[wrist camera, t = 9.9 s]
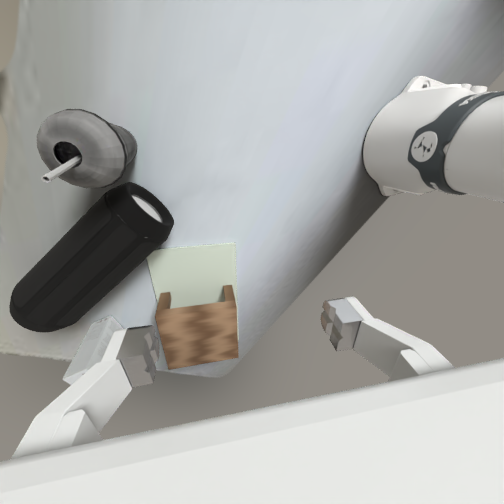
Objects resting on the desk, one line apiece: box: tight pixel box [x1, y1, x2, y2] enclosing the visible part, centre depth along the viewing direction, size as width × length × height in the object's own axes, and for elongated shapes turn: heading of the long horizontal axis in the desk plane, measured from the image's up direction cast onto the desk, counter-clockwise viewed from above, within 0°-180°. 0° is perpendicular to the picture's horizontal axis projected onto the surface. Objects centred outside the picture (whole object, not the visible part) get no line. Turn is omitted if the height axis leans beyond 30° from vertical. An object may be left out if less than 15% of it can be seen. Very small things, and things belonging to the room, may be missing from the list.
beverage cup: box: [37, 109, 137, 188], centre depth 25 cm, size 7×7×20 cm
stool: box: [155, 285, 238, 370], centre depth 47 cm, size 14×7×14 cm
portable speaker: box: [10, 183, 174, 332], centre depth 35 cm, size 26×10×10 cm, turn 130°
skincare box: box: [63, 315, 124, 385], centre depth 42 cm, size 6×4×12 cm
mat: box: [147, 242, 239, 341], centre depth 48 cm, size 16×26×1 cm, turn 0°
